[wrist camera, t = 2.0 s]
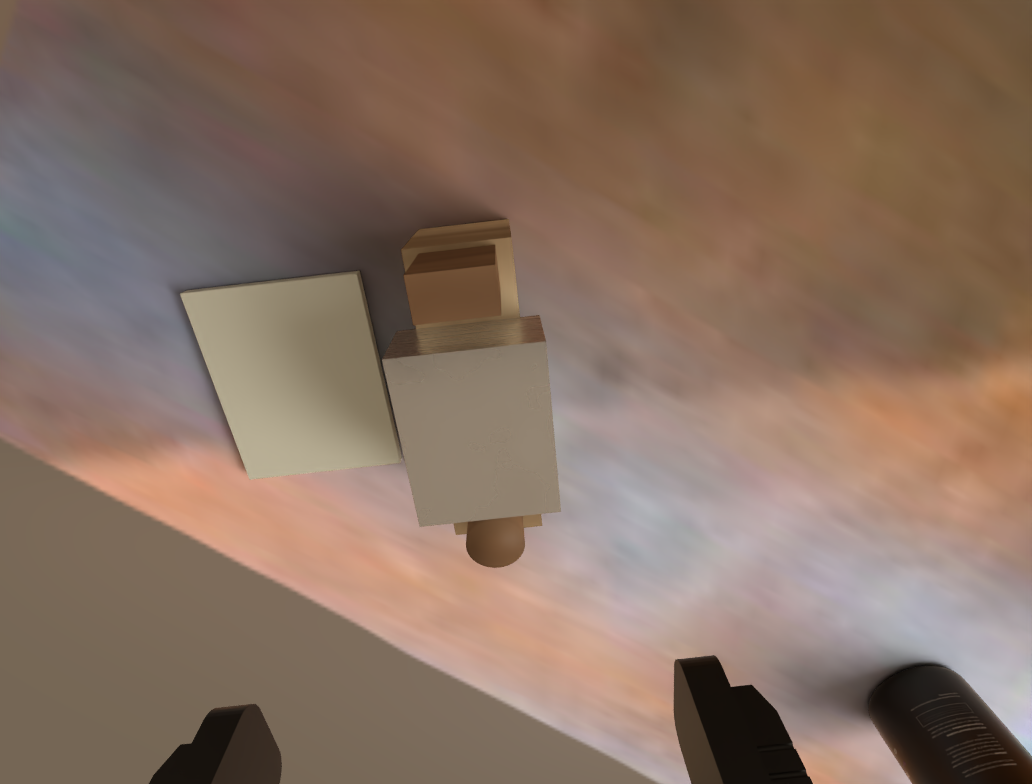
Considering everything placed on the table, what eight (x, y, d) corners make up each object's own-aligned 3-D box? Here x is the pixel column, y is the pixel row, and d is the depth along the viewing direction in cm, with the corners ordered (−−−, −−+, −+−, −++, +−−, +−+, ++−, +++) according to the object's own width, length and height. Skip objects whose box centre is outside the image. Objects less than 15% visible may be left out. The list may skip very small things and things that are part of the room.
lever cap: (396, 331, 21) (381, 359, 18) (539, 315, 21) (546, 341, 18) (428, 482, 24) (419, 526, 21) (553, 469, 24) (561, 511, 21)
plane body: (418, 229, 24) (382, 271, 16) (508, 219, 24) (514, 255, 16) (462, 474, 30) (450, 592, 22) (534, 466, 30) (548, 582, 22)
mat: (186, 290, 25) (179, 293, 24) (359, 270, 25) (356, 273, 24) (254, 473, 29) (249, 479, 29) (402, 457, 29) (400, 463, 28)
